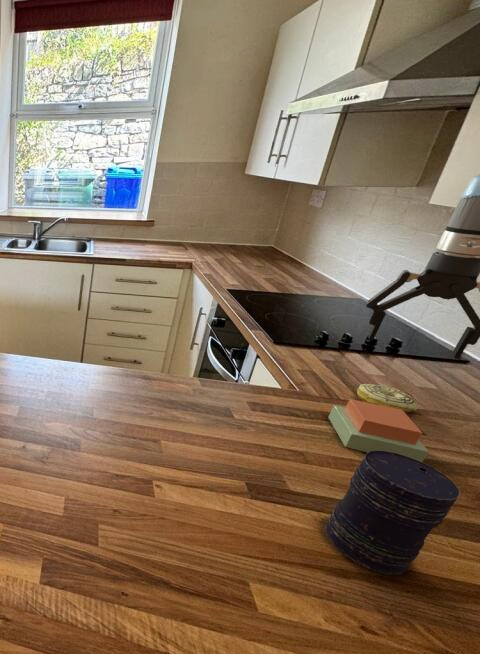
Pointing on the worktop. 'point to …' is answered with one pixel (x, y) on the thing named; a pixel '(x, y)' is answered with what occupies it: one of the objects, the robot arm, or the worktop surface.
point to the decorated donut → (386, 397)
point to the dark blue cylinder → (390, 511)
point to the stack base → (371, 438)
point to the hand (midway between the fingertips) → (410, 346)
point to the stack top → (382, 421)
